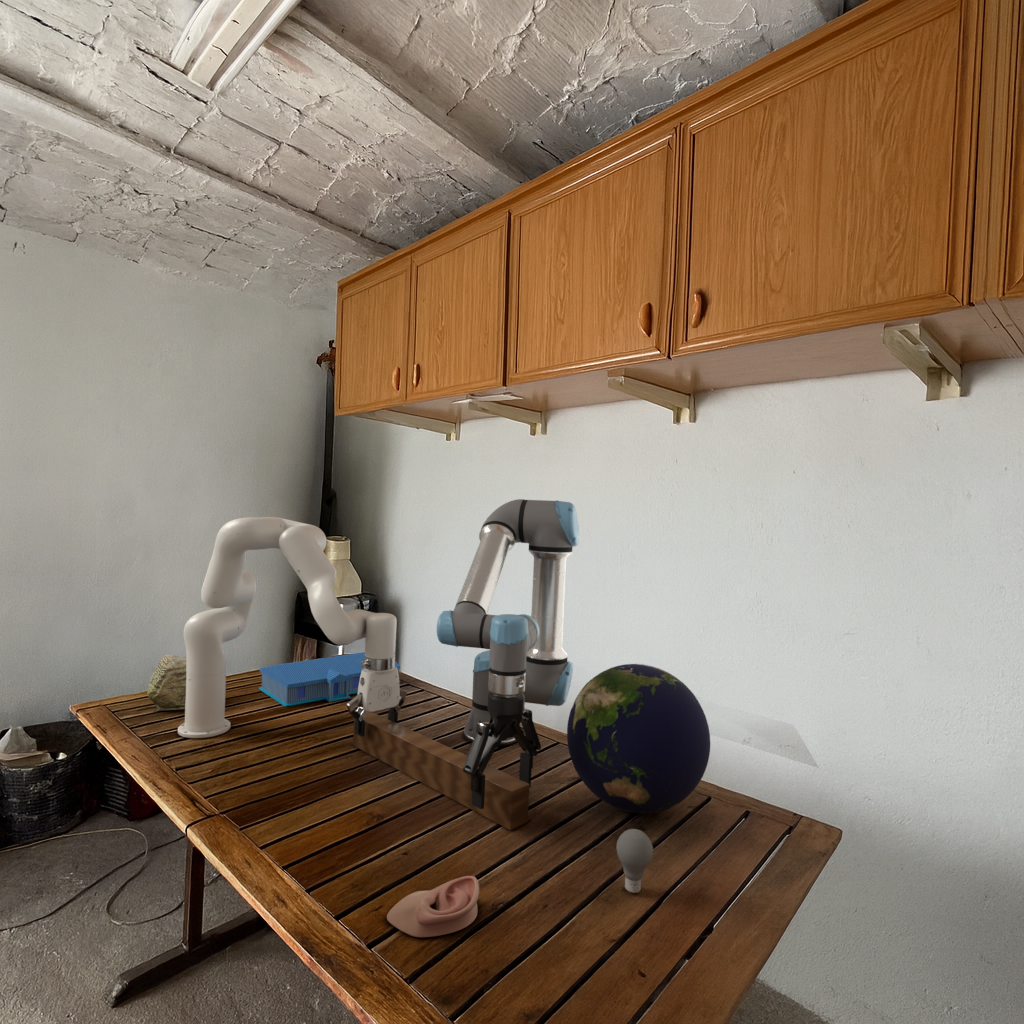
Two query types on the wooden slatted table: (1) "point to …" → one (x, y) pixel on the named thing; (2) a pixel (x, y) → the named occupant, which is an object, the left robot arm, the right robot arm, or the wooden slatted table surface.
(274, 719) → the wooden slatted table surface
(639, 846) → the light bulb
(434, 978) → the wooden slatted table surface
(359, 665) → the model building
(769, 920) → the wooden slatted table surface
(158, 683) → the fossil
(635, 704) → the globe
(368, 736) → the beam
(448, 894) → the anatomical model
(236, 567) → the left robot arm
